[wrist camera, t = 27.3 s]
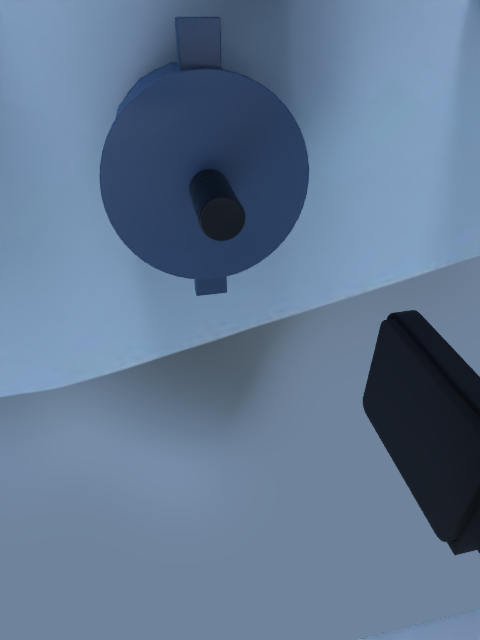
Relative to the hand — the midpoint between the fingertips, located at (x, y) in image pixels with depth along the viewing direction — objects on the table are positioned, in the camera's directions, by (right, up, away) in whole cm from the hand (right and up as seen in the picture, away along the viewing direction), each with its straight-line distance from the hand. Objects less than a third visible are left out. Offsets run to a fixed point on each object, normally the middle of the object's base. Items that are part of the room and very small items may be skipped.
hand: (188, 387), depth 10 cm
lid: (-1, +10, +18) cm, 21 cm away
